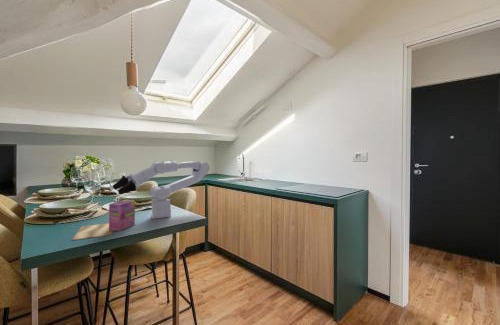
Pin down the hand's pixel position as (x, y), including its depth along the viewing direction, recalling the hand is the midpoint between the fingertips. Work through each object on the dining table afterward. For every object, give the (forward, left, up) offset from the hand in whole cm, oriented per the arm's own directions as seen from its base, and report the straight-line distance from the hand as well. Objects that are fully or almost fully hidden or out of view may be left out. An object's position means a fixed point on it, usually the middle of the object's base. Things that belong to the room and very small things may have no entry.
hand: (116, 190), depth 118 cm
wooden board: (+8, +6, -17) cm, 20 cm away
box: (-2, +6, -17) cm, 18 cm away
